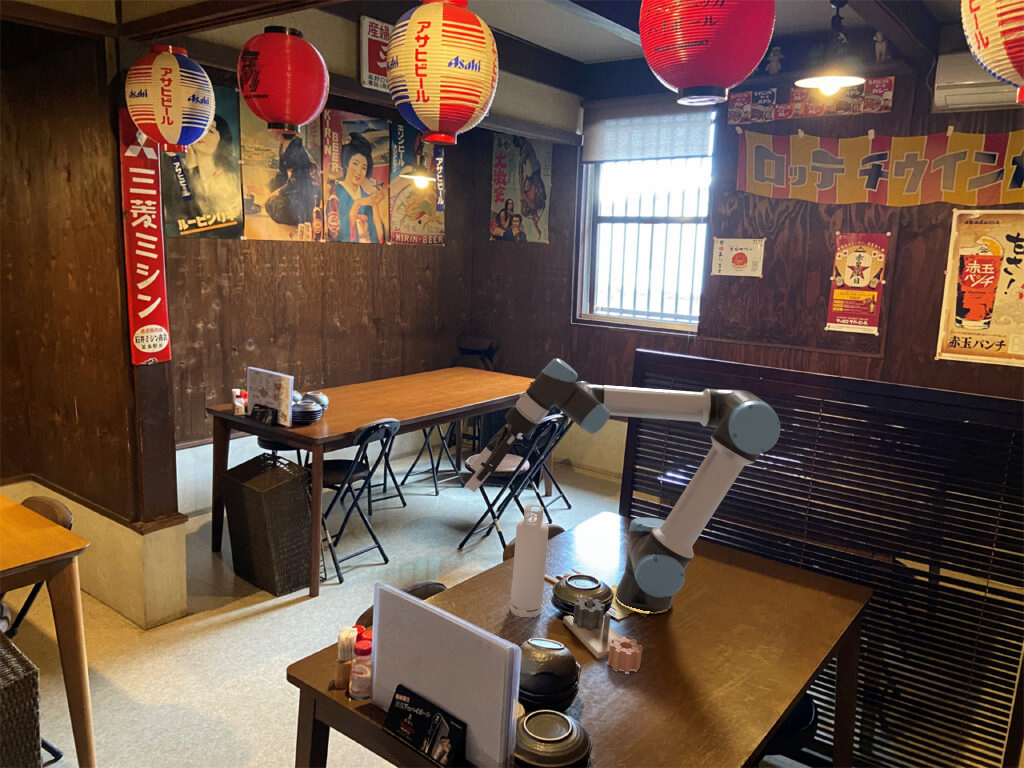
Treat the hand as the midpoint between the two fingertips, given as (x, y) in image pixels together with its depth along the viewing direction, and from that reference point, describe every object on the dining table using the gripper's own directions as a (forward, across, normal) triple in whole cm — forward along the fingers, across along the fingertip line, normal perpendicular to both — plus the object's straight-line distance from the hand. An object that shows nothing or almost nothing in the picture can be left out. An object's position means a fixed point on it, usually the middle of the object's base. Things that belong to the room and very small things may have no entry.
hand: (472, 478), depth 181 cm
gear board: (+10, +9, +47) cm, 49 cm away
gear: (+6, +21, +51) cm, 56 cm away
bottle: (+20, -1, +33) cm, 39 cm away
